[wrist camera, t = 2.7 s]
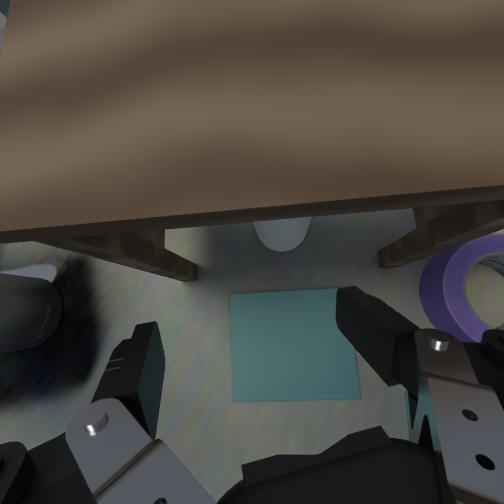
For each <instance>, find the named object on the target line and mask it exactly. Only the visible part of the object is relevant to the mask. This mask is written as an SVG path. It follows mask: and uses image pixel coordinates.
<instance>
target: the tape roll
mask: <svg viewBox="0 0 504 504" xmlns="http://www.w3.org/2000/svg"><path fill="white" fill-rule="evenodd" d="M475 263H482V264H485V265H487V266H490V267H492V268H493V269H495V270H497V271H498V272H499V273H500V274H502V275H503V276H504V234H490V235H485V236H482V237H480V238H477V239H474V240H471V241H468V242H466V243H463V244H460V245H457V246H455V247H452V248H449V249H446V250H444V251H441V252H440V253H438V254H437V255H435V256H434V257H433V258H432V259H431V260H430V261H429V262H428V264H427V265H426V267H425V269H424V271H423V273H422V275H421V279H420V286H419V292H420V299H421V303H422V306H423V309H424V311H425V313H426V315H427V317H428V318H429V320H430V321H431V323H432V324H433V325H434V326H435V327H436V328H437V329H438V330H441V331H444V332H447V333H449V334H451V335H453V336H455V337H456V338H458V339H459V340H460V341H461V342H481V339H482V335H483V332H484V331H486V330H489V329H500V330H504V324H503V325H501V326H500V327H497V328H493V327H491V326H489V325H488V324H486V323H485V322H484V321H483V320H481V319H480V318H479V317H478V315H477V314H476V313H475V312H474V310H473V309H472V307H471V306H470V304H469V301H468V299H467V295H466V279H467V275H468V273H469V271H470V269H471V268H472V267H473V265H474V264H475Z"/></svg>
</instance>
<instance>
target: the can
mask: <svg viewBox="0 0 504 504" xmlns="http://www.w3.org/2000/svg"><path fill="white" fill-rule="evenodd" d="M311 219H312V217H302V218H291V219H279V220H268V221H256V222H253V224H254V226H255V229H256V232H257V235H258V237H259V239H260V241H261V242H262V243H263V244H264V245H265V246H266V247H268V248H269V249H271V250H274V251H279V252H284V251H289V250H292V249H294V248H296V247H297V246H299V245H300V244H301V243H302V241H303V240H304V238H305V236H306V234H307V231H308V228H309V225H310V222H311Z"/></svg>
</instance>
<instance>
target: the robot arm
mask: <svg viewBox="0 0 504 504" xmlns="http://www.w3.org/2000/svg"><path fill="white" fill-rule="evenodd" d="M61 314H62V299H61V296H60V293H59V291H58V289H57V288H56V287H55V286H54V285H53V284H52V283H51V282H49V281H48V280H45V279H42V278H34V277H26V276H17V275H10V274H2V273H0V353H3V352H10V351H16V350H22V349H29V348H33V347H36V346H38V345H40V344H42V343H43V342H45V341H46V340H47V339H48V338H49V337H50V336H51V335H52V334H53V332H54V331H55V330H56V328H57V326H58V324H59V321H60V318H61ZM335 317H336V324H337V327H338V329H339V330H340V332H341V333H342V334H343V335H344V336H345V337H346V339H347V340H348V341H349V342H350V343H351V344H352V345H353V347H354V348H355V349H356V350H357V351H358V352H359V353H360V355H361V356H362V357H363V358H364V359H365V360H366V361H367V363H368V364H369V365H370V366H371V367H372V368H373V369H374V371H375V372H376V373H377V374H378V375H379V376H380V377H381V379H382V380H383V381H384V382H385V383H386V384H387V385H388V387H390V386H394V385H398V384H402V385H403V386H404V387H405V388H406V392H405V398H406V409H407V421H408V432H409V441H407V440H403V439H397V438H389V437H388V435H387V434H386V433H385V431H384V430H383V428H382V427H381V426H377V427H373V428H370V429H366V430H363V431H359V432H356V433H352V434H349V435H347V436H346V437H344V438H343V439H341V440H340V441H338V442H337V443H335V444H334V445H332V446H331V447H330V448H328V449H327V450H325V451H324V452H322V453H320V454H317V455H275V456H271V457H268V458H264V459H261V460H257V461H254V462H250V463H247V464H243V465H241V466H242V474H243V480H241V481H240V482H238V483H237V484H235V485H234V486H233V487H232V488H231V489H229V490H228V491H227V492H226V493H225V494H224V495H223V496H222V497H221V499H220V500H219V501H218V502H217V503H216V502H215V501H214V500H213V498H212V497H211V496H210V495H209V494H208V493H207V492H206V490H205V489H204V488H203V487H202V486H201V485H200V483H199V482H198V481H197V480H196V479H195V478H194V477H193V475H192V474H191V473H190V472H189V471H188V470H187V468H186V467H185V466H184V465H183V464H182V463H181V461H180V460H179V459H178V458H177V457H176V456H175V455H174V453H173V452H172V451H171V450H170V449H169V448H168V446H167V445H166V444H165V443H164V442H163V441H162V440H160V439H157V440H156V441H155V437H156V429H157V422H158V415H159V408H160V401H161V393H162V386H163V379H164V372H165V355H164V350H163V345H162V341H161V337H160V332H159V328H158V324H157V322H156V321H154V322H149V323H143V324H138V325H136V326H135V329H134V332H133V335H132V337H131V339H126V340H123V341H122V342H121V343H120V344H119V345H118V346H117V347H116V348H115V349H114V350H113V352H112V355H111V357H110V359H109V362H108V364H107V366H106V369H105V371H104V373H103V376H102V378H101V380H100V383H99V385H98V387H97V390H96V392H95V394H94V397H93V399H92V401H91V404H90V405H88V406H86V407H85V408H84V409H82V410H81V411H80V412H79V413H78V414H77V415H76V416H75V417H74V418H73V419H72V420H71V422H70V423H69V425H68V427H67V429H66V432H64V433H63V434H61V435H59V436H57V437H56V438H54V439H52V440H49V441H47V442H45V443H43V444H41V445H39V446H37V447H35V448H33V449H31V450H29V451H27V449H26V447H25V446H24V445H23V443H20V442H8V443H4V444H1V445H0V504H504V330H500V329H489V330H486V331H484V332H483V335H482V339H481V342H461V341H460V340H459V339H458V338H456V337H455V336H453V335H451V334H449V333H447V332H444V331H441V330H437V329H430V328H426V329H420V328H419V327H418V326H416V325H415V324H413V323H412V322H411V321H409V320H408V319H407V318H405V317H404V316H402V315H401V314H400V313H398V312H395V310H394V309H393V308H391V307H390V306H388V305H387V304H386V303H385V302H383V301H382V300H380V299H379V298H376V297H374V296H371V295H369V294H366V293H364V292H363V291H362V290H360V289H359V288H358V287H356V286H349V287H343V288H339V289H338V290H337V293H336V316H335Z"/></svg>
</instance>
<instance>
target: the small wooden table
mask: <svg viewBox="0 0 504 504" xmlns="http://www.w3.org/2000/svg"><path fill="white" fill-rule="evenodd" d="M405 208H413V211H414V216H415V221H416V226H417V229H415V230H413V231H412V232H410V233H408V234H407V235H405V236H403V237H402V238H400V239H398V240H397V241H395V242H393V243H392V244H390V245H388V246H387V247H385V248H383V249H381V250H380V251H378V257H379V263H380V268H390V267H399V266H402V265H405V264H408V263H410V262H413V261H416V260H419V259H421V258H424V257H427V256H430V255H432V254H435V253H438V252H441V251H444V250H446V249H449V248H452V247H455V246H457V245H460V244H463V243H466V242H468V241H471V240H474V239H477V238H480V237H482V236H485V235H488V234H491V233H493V232H496V231H499V230H502V229H504V0H11V1H10V6H9V11H8V16H7V21H6V26H5V32H4V37H3V42H2V47H1V52H0V243H3V244H4V243H15V242H27V241H35V242H39V243H43V244H46V245H50V246H54V247H58V248H61V249H65V250H69V251H72V252H76V253H80V254H83V255H87V256H91V257H94V258H98V259H102V260H105V261H109V262H113V263H117V264H120V265H124V266H128V267H131V268H135V269H139V270H142V271H146V272H150V273H153V274H157V275H161V276H165V277H168V278H172V279H176V280H179V281H192V280H197V265H196V264H194V263H192V262H190V261H188V260H187V259H185V258H183V257H181V256H179V255H177V254H175V253H173V252H171V251H169V250H167V249H165V248H164V244H165V229H176V228H187V227H199V226H210V225H222V224H233V223H245V222H256V221H268V220H279V219H291V218H302V217H314V216H325V215H336V214H348V213H359V212H371V211H382V210H394V209H405Z"/></svg>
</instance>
